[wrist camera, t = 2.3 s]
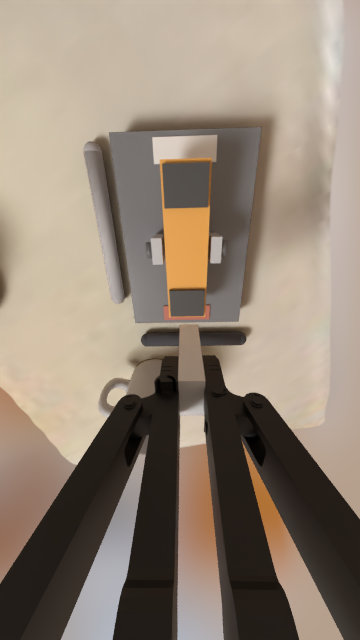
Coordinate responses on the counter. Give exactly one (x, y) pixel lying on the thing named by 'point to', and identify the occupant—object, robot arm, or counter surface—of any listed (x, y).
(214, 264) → the panel
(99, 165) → the grey rod
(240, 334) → the black rounded bar
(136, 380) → the mug
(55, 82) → the counter surface
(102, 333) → the counter surface
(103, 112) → the counter surface
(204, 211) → the lever
